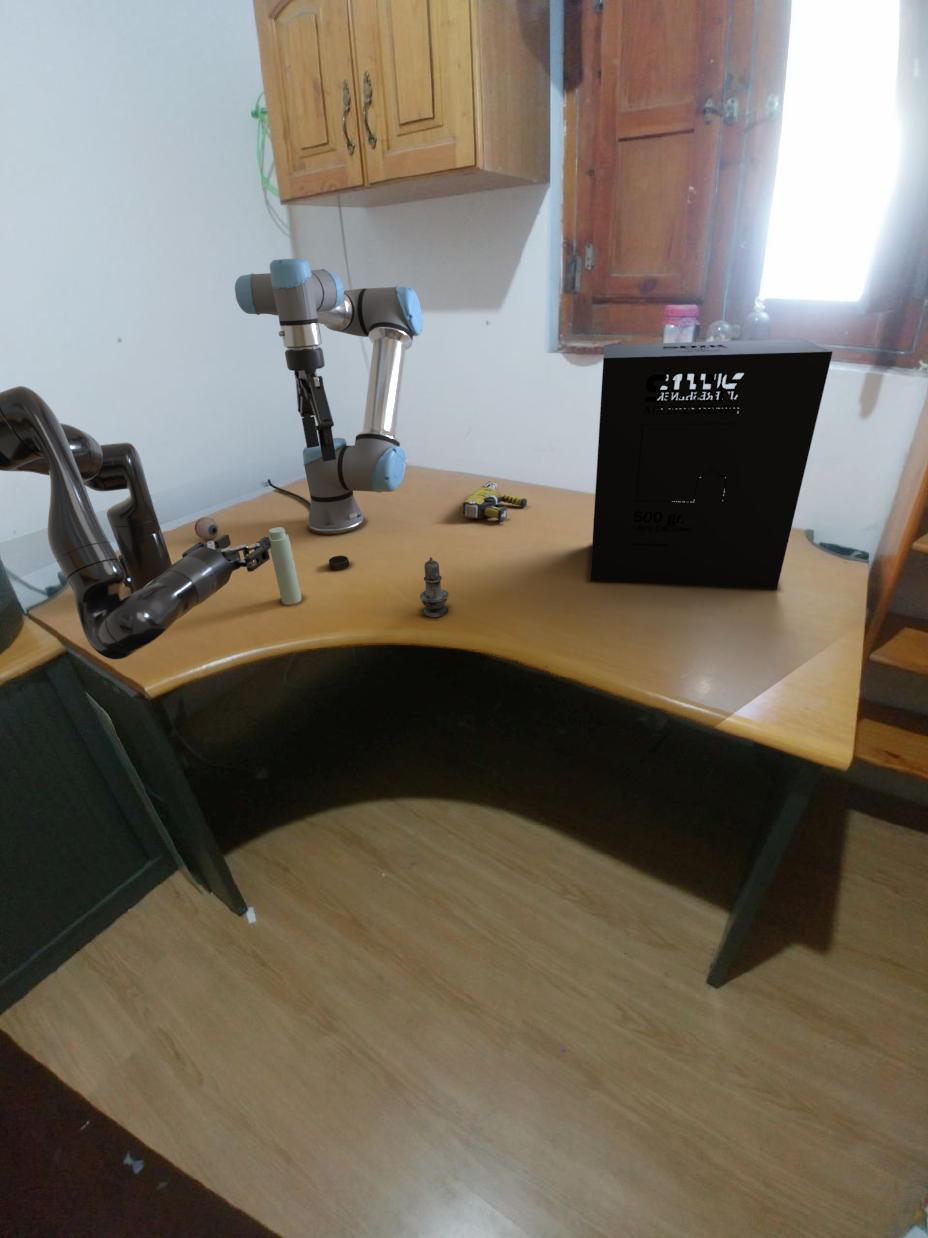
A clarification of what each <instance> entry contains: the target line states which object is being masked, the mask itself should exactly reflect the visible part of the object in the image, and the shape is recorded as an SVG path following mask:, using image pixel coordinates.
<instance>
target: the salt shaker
mask: <svg viewBox="0 0 928 1238" xmlns="http://www.w3.org/2000/svg"><path fill="white" fill-rule="evenodd" d="M423 567H424V577H423V581H424V582H425V590H424V591H422V592H421V593H420V594H419V599H420V600H421V603H422V605H423V606H424V608H422V614H423V615H424V616H426V617H429V618H438V617H442V616H444V615H446V614H448V612H449V607H448V606H447V605H446V603H447V602H448V598H449V595H450V594H449V592H448V591H447V590H445V589H443V588H442V582H441V581H442V579H443V577H442V575H441V574H440V564H439V562H438V561H437V560H434V559H433V557H432V556H430V557H429V559H428V561H426V562H425V563H424V566H423Z"/></svg>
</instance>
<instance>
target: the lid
mask: <svg viewBox="0 0 928 1238" xmlns="http://www.w3.org/2000/svg"><path fill="white" fill-rule="evenodd" d="M349 566H350V561H349V558H348V556H346V555H334V556H332V557H330V558H329V559H328V567H329V569H330V570H332V571H343V570H345V569H347V568H349Z"/></svg>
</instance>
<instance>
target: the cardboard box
mask: <svg viewBox="0 0 928 1238" xmlns="http://www.w3.org/2000/svg"><path fill="white" fill-rule="evenodd" d="M833 353H834V352H833V350H830V349H827V348H826V347H825V348H824V347H822V346H821V345H818V344H815V343H813V342H810V341H808V340H805V339H802V338H783V339H782V338H781V339H779V338H777V339H776V338H775V339H749V340H747V339H746V340H723V341H722V340H720V341H719V340H718V341H689V342H687V341H685V342H683V341H682V342H657V343H654V342H653V343H627V344H625V343H624V344H623V343H621V344H604V345H603V359H602V362H603V363H602V375H601V389H600V390H601V392H600V409H599V424H598V425H599V426H598V427H599V428H598V442H597V457H596V458H597V459H596V460H597V461H596V475H595V493H594V496H595V497H594V508H593V509H594V510H593V525H592V527H593V528H592V541H591V557H590V558H591V560H590V575H589V576H590V577H589V580H590V582H603V583H622V584H623V583H625V584H626V583H628V584H645V585H647V584H648V585H669V586H670V585H671V586H693V587H712V588H714V587H715V588H734V589H735V588H737V589H755V590H757V589H758V590H759V589H760V590H778V586H779V582H780V577H781V574H782V570H783V565H784V561H785V556H786V553H787V548H788V543H789V539H790V536H791V531H792V526H793V522H794V519H795V513H796V510H797V505H798V501H799V497H800V493H801V489H802V484H803V480H804V476H805V471H806V467H807V464H808V463H807V462H808V458H809V455H810V450H811V446H812V442H813V437H814V434H815V430H816V425H817V421H818V417H819V411H820V407H821V404H822V400H823V399H822V398H823V394H824V390H825V386H826V381H827V378H828V374H829V369H830V366H831V360H832V356H833ZM738 374H742V376H741V377H740V378H735V376H736V375H738ZM678 375H681V379H680V380H679V384H678V388H675V385H676V379H675V377H676V376H678ZM689 375H693V380H692V381H691V379H688V376H689ZM702 375H704V379H702ZM719 378H720V382H719ZM724 378H725V382H724ZM723 382H724V385H730V384H731V385H734V388H725V387H724V386H723ZM691 383H692V385H695V388H691ZM705 385H710V388H704V386H705ZM662 387H666V389H662Z"/></svg>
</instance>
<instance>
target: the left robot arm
mask: <svg viewBox="0 0 928 1238" xmlns="http://www.w3.org/2000/svg"><path fill="white" fill-rule="evenodd" d="M0 471H3V472H23V473H35V474H38V475H39V474H40V475H44V476H49V482H50V483H49V484H50V497H49V507H48V518H47V540H48V544H49V547H50V551H51V552H52V555H53V557H54V559H55V561H56V562H57V565H58V566H59V568H60V570H61V572H62V573H63V575H64V577H65V579H66V580H67V582H68V584H69V586H70V588H71V589H72V592H73V597H74V602H75V606H76V609H77V613H78V617H79V621H80V622H79V623H80V625H81V629H82V631H83V634H84V636H85V638H86V640H87V642H88V644H89V645H90V646H91V648H92V649H93V650H95V651H96V653H98V654H99V655H101V656H102V657H105V658H107V659H109V660H122V659H126V658H128V657H130V656H132V655H133V654H135V653H137V652H138V651H139V650H141V649H143V648H144V647H146V646H149V645H150V644H151V643H153V642H154V641H156V639H158V638H159V637H161V635H163V634H164V633H165V632H166V631H167V630H168V629H169V628H171V627H172V625H173V624H174V623H175V622H176V621H178V620H179V619H181V618H182V617H183V616H185V615H187V613H189V612H190V611H191V610H193V609H194V608H196V606H199V605H200V604H202V603H204V602H205V601H206V600H208V599H209V598H210V597H212V596H213V595H214V594H215V593H216V592H219V590H221V588H223V587H225V586H226V585H227V584H228V582H229V581H230V579H231V576H232V574H233V572H234V571H236V570H239V569H241V568H246V569H247V570H246V571H247V572H248V573H250V572H251V573H252V572H254V571H256V570H257V569H259V568H260V567H261V566H262V565H264V564H265V563H266V562H268V561H269V560H270V559H271V557H270V553H269V550H270V548H271V542H270V539H269V536H263V537H261V538H260V539H259V540H258V541H256V542H255V543H253V544H250V545H246V544H240V545H237V546H234V547H230V546H231V545H232V542H231V538H230V535H229V534H225V533H224V534H222V535H221V536H219V537H218V538H216V539H215V540H208V542H207V543H204V541H198V542H197V543H195V544H194V545H193V546H191V547H190V548H188V549H187V550H185V551H184V552H182V554H181V557H182V558H180V559H179V560H178V561H176V562H174V563H172V562H173V561H172V559H171V556H170V553H169V549H168V547H167V544H166V540H165V538H164V534H163V532H162V528H161V526H160V522H159V519H158V517H157V516H158V515H157V513H156V510H155V507H154V504H153V500H152V496H151V492H150V490H149V486H148V482H147V479H146V474H145V471H144V466H143V463H142V460H141V457H140V454H139V451H138V450H137V448H136V447H135V446H134V444H132V443H130V442H115V443H106V444H100V443H99V442H98V441H97V440H96V439H95V438H94V437H93V436H91V434H89V433H87V432H86V431H84V430H82V429H80V428H78V427H75V426H73V425H70V424H67V423H62V422H60V421H59V419H58V418H57V416H56V414H55V412H54V411H53V409H52V408H51V407H50V406H49V404H48V403H47V402H46V401H45V399H44V398H43V397H42V396H41V395H39V394H38V393H37V392H36V391H34V390H33V389H31V388H30V387H27V386H25V385H24V386H23V385H19V386H14V387H11V388H9V389H5V390H3V391H0ZM86 487H87V488H89V489H91V490H93V491H96V492H113V491H121V490H128V491H129V495H128V496H127V497H126V498H125V499H123V500H121V501H119V502H118V503H116V504H114V505H112V506H110V507H109V508H108V509H107V511H106V518H107V520H108V524H109V525H110V528H111V532H112V534H113V536H114V539H115V542H116V544H117V547H118V551H119V553H120V554H119V555H118V556H117V553H116V551H115V550H114V548H113V546H112V545H111V543H110V541H109V538H108V537H107V535H106V534H105V532H104V530H103V528H102V526H101V524H100V522H99V519H98V516H97V515H96V512H95V509H94V507H93V504H92V501H91V500H90V499H91V498H90V496H89V493H88V491H87V488H86ZM241 551H242V554H243V559H242V558H241V554H240V552H241ZM250 551H252V552H250ZM122 586H124V587H125V588H129V590H130V594H129V595H128V596H126V597H124V598H122V599H121V596H120V595H121V594H120V591H121V588H122Z"/></svg>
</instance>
